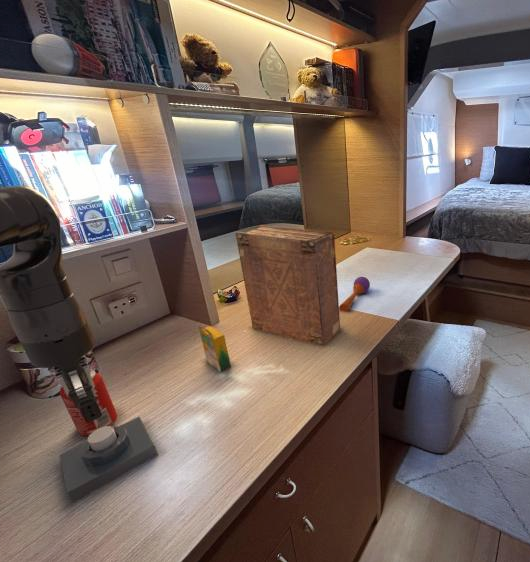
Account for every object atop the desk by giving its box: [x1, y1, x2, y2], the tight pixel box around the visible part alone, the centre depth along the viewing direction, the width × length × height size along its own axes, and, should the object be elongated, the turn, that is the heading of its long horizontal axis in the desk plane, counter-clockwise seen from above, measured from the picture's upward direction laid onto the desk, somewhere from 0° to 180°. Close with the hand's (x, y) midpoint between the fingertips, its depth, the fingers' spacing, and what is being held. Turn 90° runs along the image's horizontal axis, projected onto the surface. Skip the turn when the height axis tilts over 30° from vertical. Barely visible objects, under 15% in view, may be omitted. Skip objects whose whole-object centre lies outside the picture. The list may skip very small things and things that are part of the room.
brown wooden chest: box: [235, 224, 341, 347], centre depth 95 cm, size 25×9×30 cm, turn 66°
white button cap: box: [87, 425, 117, 452], centre depth 58 cm, size 4×4×2 cm
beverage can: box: [59, 369, 118, 436], centre depth 66 cm, size 6×6×12 cm
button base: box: [59, 416, 159, 503], centre depth 59 cm, size 12×10×5 cm
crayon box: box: [197, 323, 232, 373], centre depth 84 cm, size 7×3×12 cm, turn 50°
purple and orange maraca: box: [339, 276, 371, 312], centre depth 119 cm, size 6×6×20 cm
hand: (94, 417), depth 57 cm, fingers closed
